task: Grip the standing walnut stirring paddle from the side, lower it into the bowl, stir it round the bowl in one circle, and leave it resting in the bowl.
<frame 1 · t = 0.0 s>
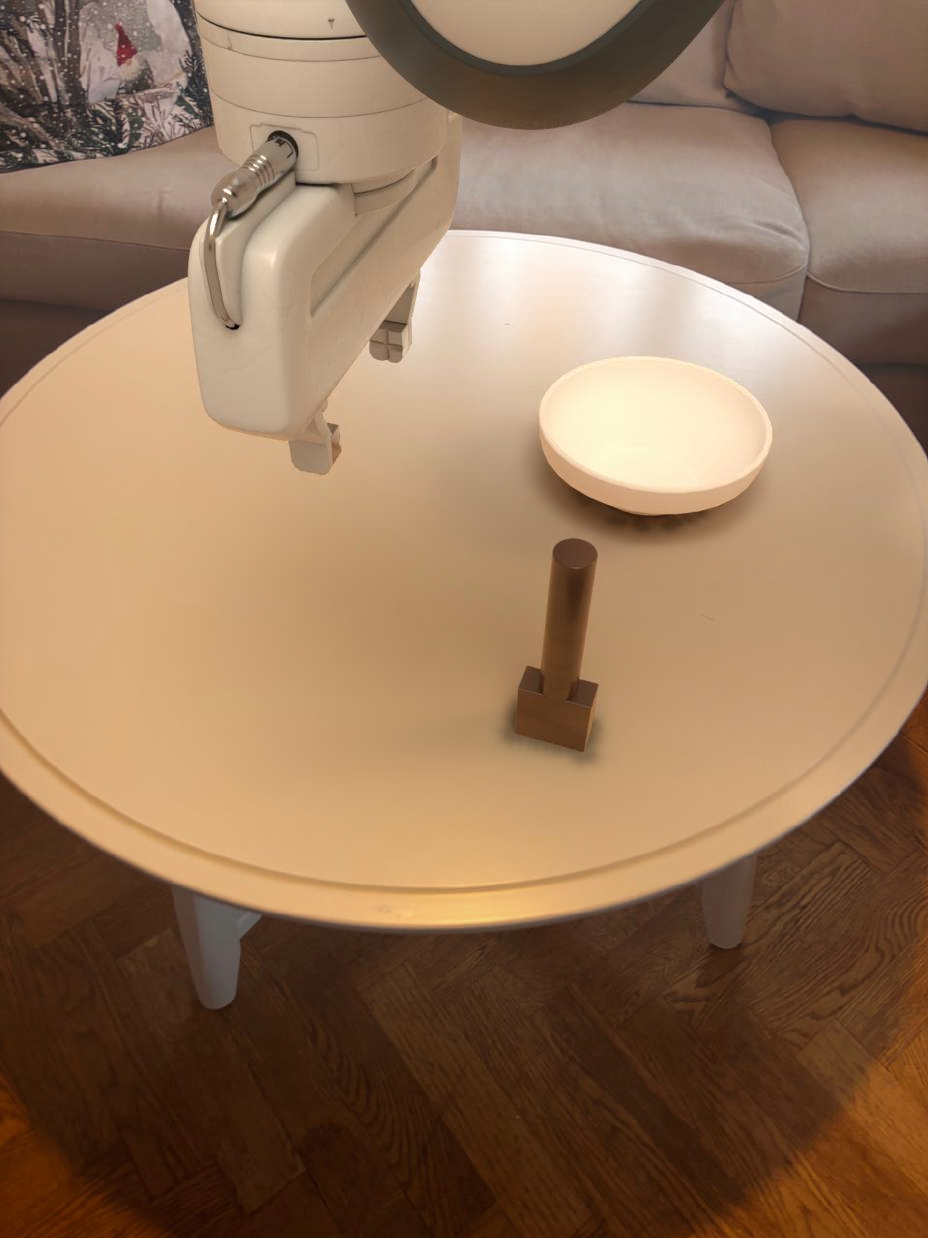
hand: (356, 405, 46), 28 cm above the table, tool pointing down, fingers open, 8 cm apart
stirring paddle: (552, 731, 68), on the table
bowl: (642, 486, 87), on the table
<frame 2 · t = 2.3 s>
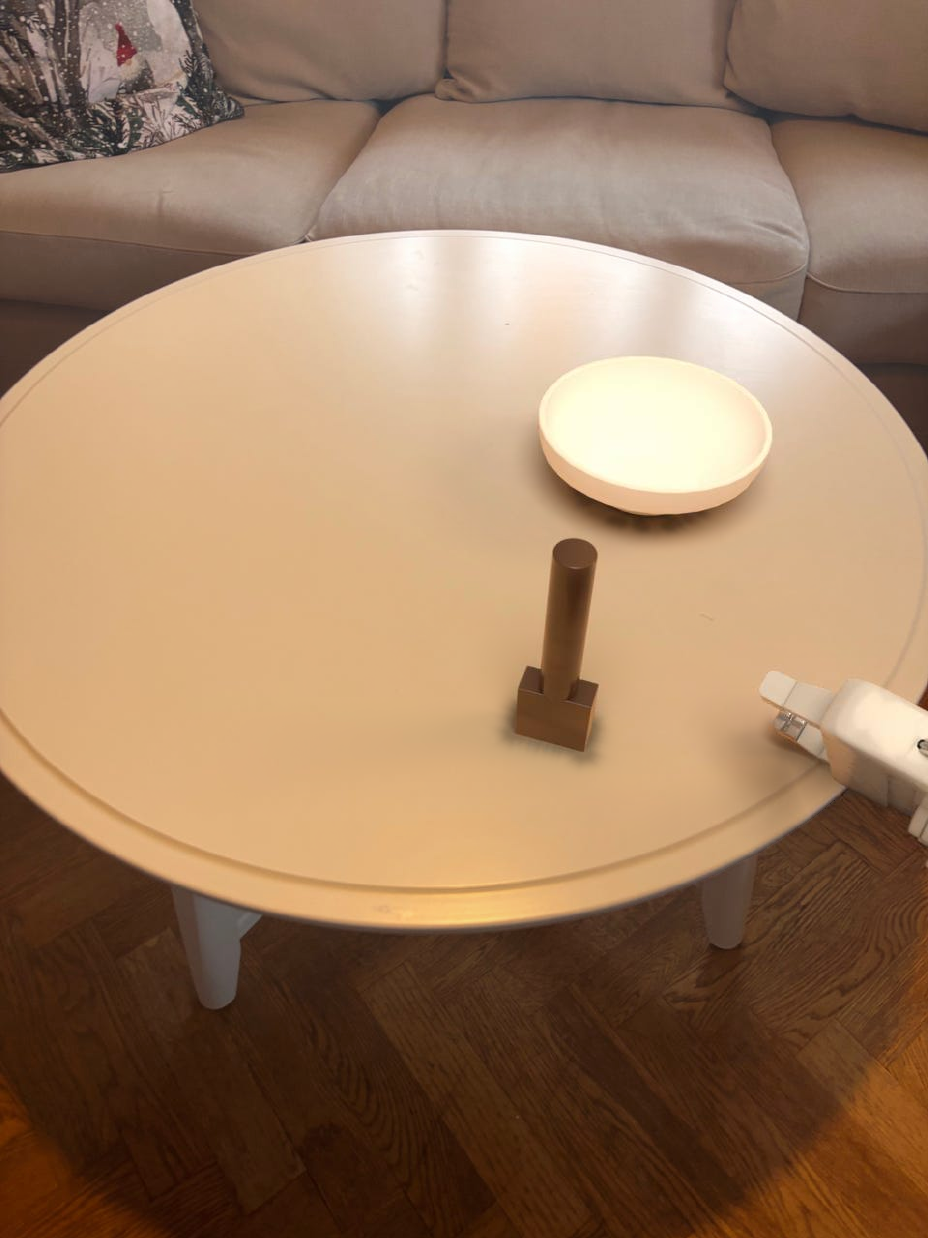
hand: (771, 700, 63), 6 cm above the table, tool horizontal, fingers open, 8 cm apart
nothing on the table moved.
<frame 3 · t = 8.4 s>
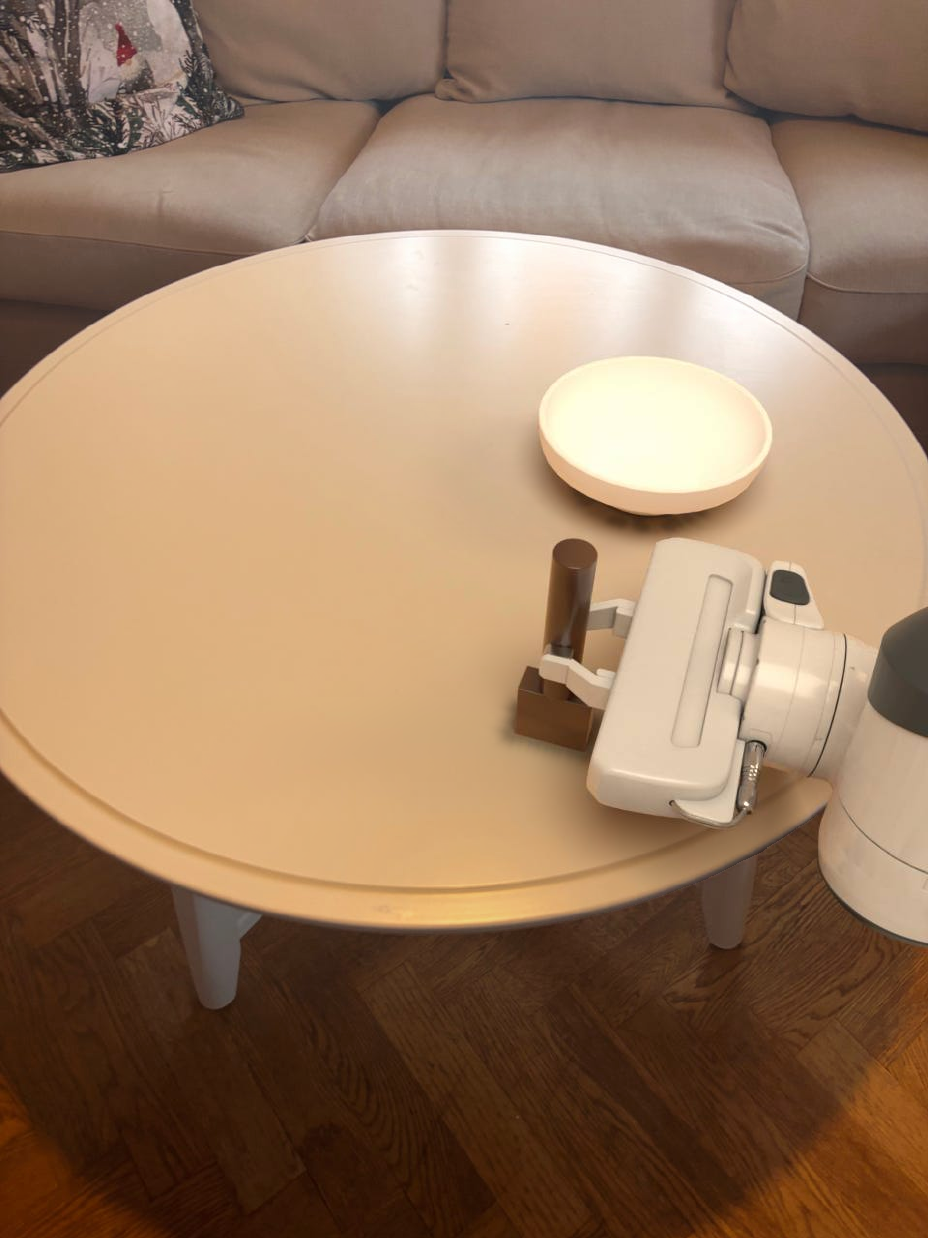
hand: (550, 636, 61), 10 cm above the table, tool horizontal, fingers closed on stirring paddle, 2 cm apart
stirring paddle: (552, 731, 68), on the table, touching gripper
everything else where it was.
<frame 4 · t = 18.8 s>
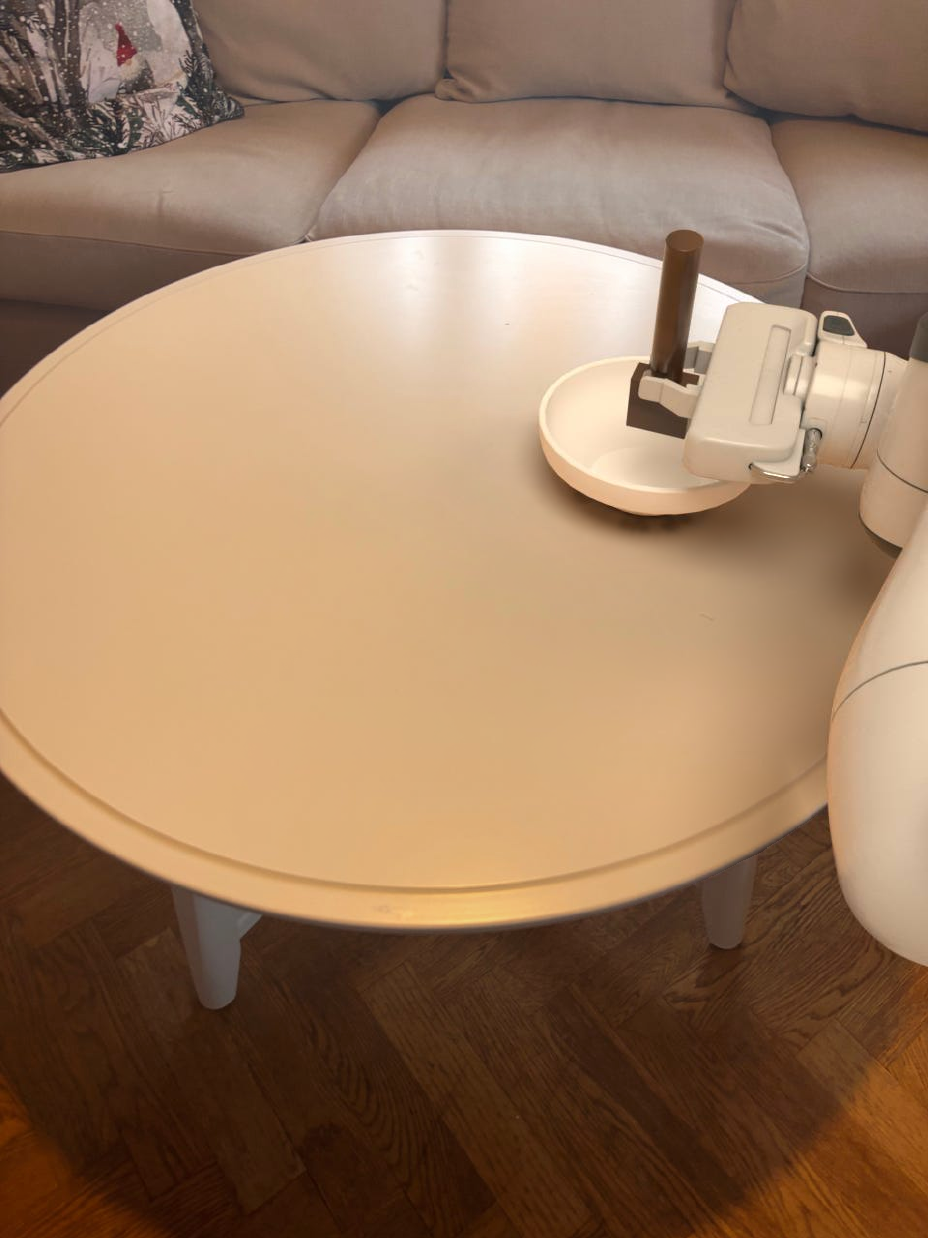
hand: (646, 368, 77), 13 cm above the table, tool horizontal, fingers closed on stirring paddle, 3 cm apart
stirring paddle: (658, 424, 81), point 7 cm above the table, tilted 8°, touching gripper
everything else where it was.
when the fingers open (12 cm above the table, at t = 21.7 s): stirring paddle stays where it is, resting on bowl.
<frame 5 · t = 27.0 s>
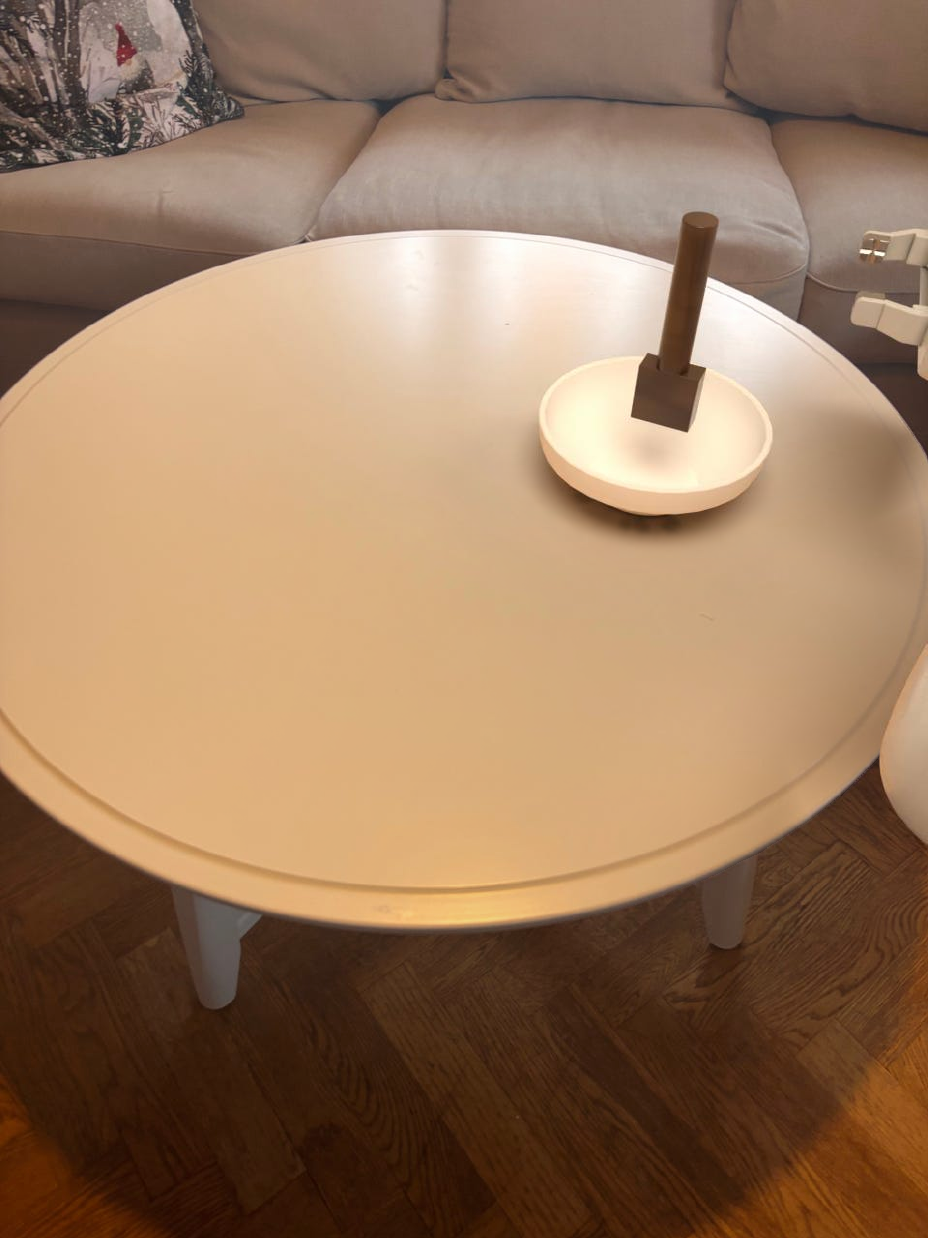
hand: (857, 274, 68), 22 cm above the table, tool horizontal, fingers open, 8 cm apart
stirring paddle: (662, 418, 82), point 7 cm above the table, touching bowl
bowl: (642, 486, 87), on the table, touching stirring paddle
at the end: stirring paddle inside the target area in the bowl (0.6 cm from its centre), point 7.4 cm above the bowl's base; the gripper is holding nothing; bowl moved 0.2 cm from its start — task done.
